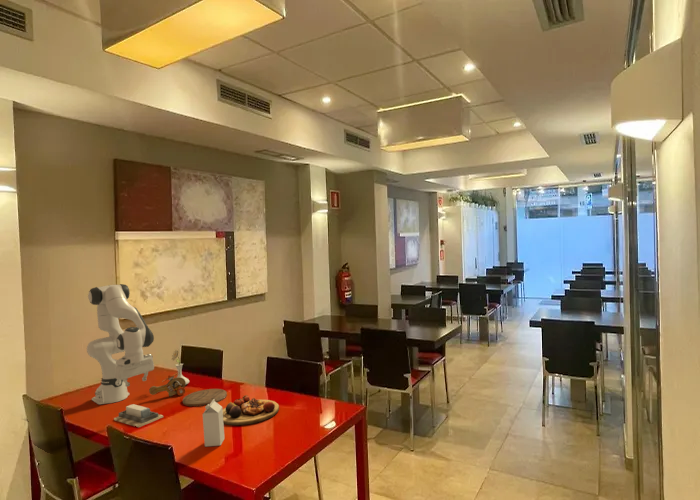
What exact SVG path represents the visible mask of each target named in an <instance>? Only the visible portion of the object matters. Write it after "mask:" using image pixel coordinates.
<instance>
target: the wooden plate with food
mask: <svg viewBox="0 0 700 500" xmlns="http://www.w3.org/2000/svg"><path fill="white" fill-rule="evenodd" d="M222 409H223V423H224V425H228V426H245V425H251V424H257V423H261V422H263V421H266V420H268V419H271V418H272V417H274V416H276V415H277V413H278V412H279V410H280V405H279V403H277V402H276V401H275V400H270V399H257V398H255V397H253V398H251V400H250V396H249V395H247V394H246V395H243V396H242V398H238V399H235V400H234V401H233V402H232V401H230V402H228V403H227V405H226V406H225V408H224V407H223V408H222Z"/></svg>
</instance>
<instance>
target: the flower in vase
mask: <svg viewBox="0 0 700 500" xmlns="http://www.w3.org/2000/svg"><path fill="white" fill-rule="evenodd" d="M179 353H180V351H179V349H178V348H177V349H174V351H173V353H172V355H171V360H172V362H173V361H176V362H177V363H178V364H174V366H175V367H176V369H177V373H178V374H177V375H176V377H181V378H183V379H184V380H185V386H187V385H188V384H189V383H190V380H189V378H188V377H185V376H184V375H183V374H182V369H183V365H184V363H181V358H180V357H179ZM177 382H178V381H177ZM178 383H179V382H178ZM179 384H180V383H179ZM180 385H181V386H182V384H180ZM172 386H173V385H172Z"/></svg>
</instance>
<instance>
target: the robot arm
mask: <svg viewBox="0 0 700 500" xmlns="http://www.w3.org/2000/svg"><path fill="white" fill-rule="evenodd" d="M130 294H131V293H130V287H129V286H128V285H126V284H121V283H120V284H108V285H104V286H98V287H97V286H96V287H92V288H90V290H89V291H88V294H87V295H88V296H87V297H88V301H89V303H90V304H91V305H94V306H97V307H96V315H97V326H98V329H99V330H101V331H102V332H106V333H108V335H109V336H107V337H102V338H97V339H94V340H91V341H89V342H88V344H87V346H86V353H87V354H88V356H89V357H91V358H92V359H95V360H96V361H97V362H98V363H99V365H100V367H101V369H100V370H101V375H102V378H100V385H99V386H98V387H97V388H96V390H95V392H94V395H95V396H93V397H92V398H91V401H92V402H94V403H96V404H97V405H105V404H112V403H118V402H121V401H123V400H126V399H127V398H129V397H128V396H130V392H129V391H128V387H129V386H131V383H130V382H128V379H129V378H133V377H135V376H139V375H143V374H144V375H143V377H142V378H141V379H142V380H141V381H142V382H146V381H147V378H148V375H149V372H152V371H154V370H155V364H154V363H155V362H154V360H153V359H154V358H153V354H151V353H147V354H144V348H147V347H150V346H151V345H152V344H153V343H154V341H155V340H154V339H155V337H154V334H153V333H154V332H153V331H152V330H151V329H150V327H149V326H148V324H147V323H146V321H145V320H144V318H143V316H142V314H141V312H140V311H139V310H138V308H137V307H135V306H133V305H131V304H130V303H129V300H128V299H129V297H130ZM119 319H123V320H124V319H125V320H128V321H132V322H133V323H134V325H135V326H130V327H127V328H125V329H124V330H123V328H122V327H121V325H120V320H119ZM122 352H124V356H122V357H120V358H119V359H117V358H116V359H115V358H113V357H112V355H115V354H119V353H122Z"/></svg>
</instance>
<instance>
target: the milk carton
mask: <svg viewBox="0 0 700 500" xmlns="http://www.w3.org/2000/svg"><path fill="white" fill-rule="evenodd" d="M204 409H205V410H204V412H203V413H202V424H203V425H202V426H203V427H202V429H203V439H204V440H203V441H204V447H206V448H207V447H218V446H221V445H222V444H223V442H224V440H225V424H224V423H223V409H224V408H223V406H222V405H220V404H219V402H217V403H216V402H215V400H214V399H213V401H212V402H211V403H210V405H209V404H208V405H206V406H204Z"/></svg>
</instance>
